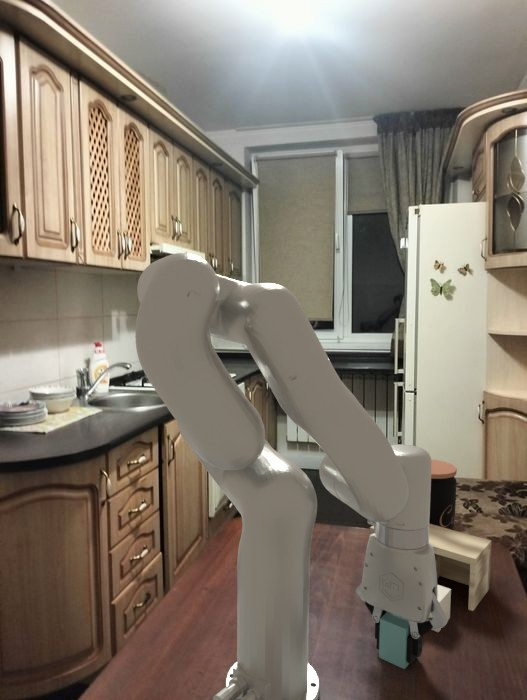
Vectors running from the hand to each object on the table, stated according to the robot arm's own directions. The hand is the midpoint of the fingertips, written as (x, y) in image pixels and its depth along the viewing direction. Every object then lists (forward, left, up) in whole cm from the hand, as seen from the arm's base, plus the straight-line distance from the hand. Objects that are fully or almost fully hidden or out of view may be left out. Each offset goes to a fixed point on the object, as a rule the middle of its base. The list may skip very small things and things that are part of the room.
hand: (397, 650), depth 80 cm
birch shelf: (+24, +5, -1) cm, 24 cm away
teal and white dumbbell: (+6, 0, -1) cm, 6 cm away
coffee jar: (+36, +10, -1) cm, 37 cm away
